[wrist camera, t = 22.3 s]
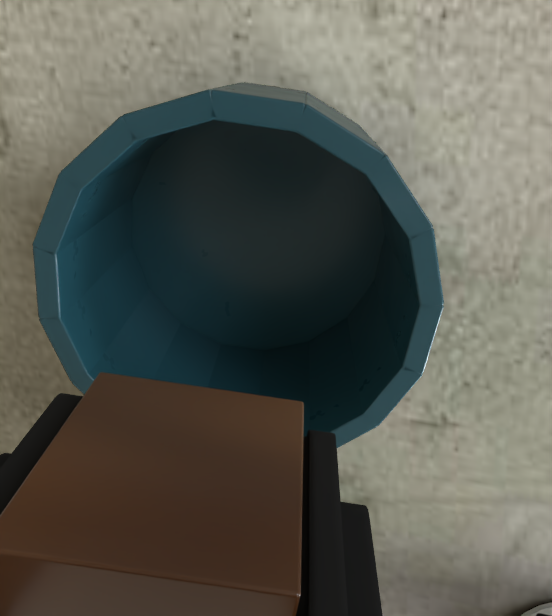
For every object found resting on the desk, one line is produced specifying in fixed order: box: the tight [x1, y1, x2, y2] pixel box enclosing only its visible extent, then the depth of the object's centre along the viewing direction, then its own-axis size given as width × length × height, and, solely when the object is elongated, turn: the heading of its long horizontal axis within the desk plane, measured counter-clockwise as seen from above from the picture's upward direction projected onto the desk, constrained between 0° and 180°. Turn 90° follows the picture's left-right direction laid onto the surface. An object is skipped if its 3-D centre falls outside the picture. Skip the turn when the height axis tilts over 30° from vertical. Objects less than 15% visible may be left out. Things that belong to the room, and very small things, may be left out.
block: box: [0, 372, 304, 616], centre depth 9 cm, size 4×4×4 cm
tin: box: [33, 82, 444, 448], centre depth 21 cm, size 14×14×8 cm
